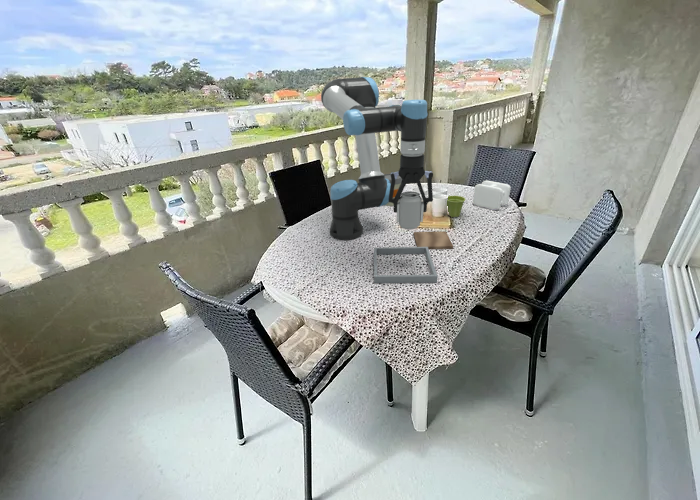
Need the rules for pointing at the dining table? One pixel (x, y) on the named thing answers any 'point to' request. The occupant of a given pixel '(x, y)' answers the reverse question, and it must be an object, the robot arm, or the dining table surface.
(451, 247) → the pad
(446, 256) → the dining table surface
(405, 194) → the can
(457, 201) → the plant pot
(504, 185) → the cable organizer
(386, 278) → the gray square frame
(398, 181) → the reusable coffee cup
